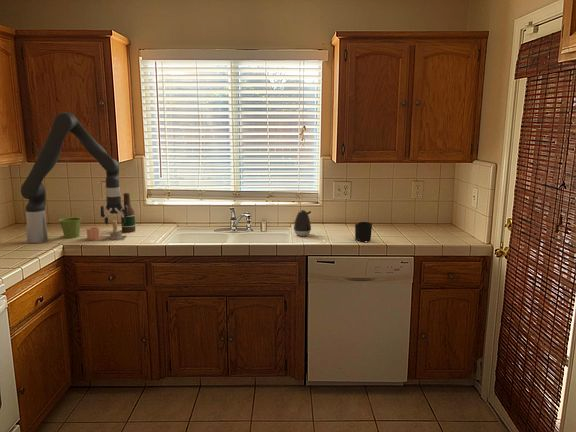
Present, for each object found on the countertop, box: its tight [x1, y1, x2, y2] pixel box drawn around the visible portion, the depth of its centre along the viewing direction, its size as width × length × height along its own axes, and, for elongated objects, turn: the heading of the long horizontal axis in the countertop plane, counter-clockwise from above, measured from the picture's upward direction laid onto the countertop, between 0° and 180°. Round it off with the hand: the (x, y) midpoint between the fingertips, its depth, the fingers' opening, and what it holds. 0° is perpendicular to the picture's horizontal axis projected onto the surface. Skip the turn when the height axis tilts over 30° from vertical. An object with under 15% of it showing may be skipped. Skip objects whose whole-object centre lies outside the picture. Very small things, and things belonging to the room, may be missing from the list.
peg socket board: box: [83, 231, 128, 242], centre depth 256 cm, size 21×11×4 cm, turn 98°
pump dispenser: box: [293, 209, 312, 237], centre depth 271 cm, size 10×10×15 cm
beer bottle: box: [120, 192, 136, 234], centre depth 272 cm, size 8×8×24 cm
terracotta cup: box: [86, 226, 101, 240], centre depth 255 cm, size 6×6×6 cm
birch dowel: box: [112, 219, 119, 234], centre depth 256 cm, size 2×2×10 cm
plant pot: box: [58, 216, 83, 239], centre depth 259 cm, size 12×12×11 cm
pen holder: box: [354, 221, 373, 243], centre depth 260 cm, size 9×9×10 cm
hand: (115, 224), depth 256 cm, fingers open, 8 cm apart
